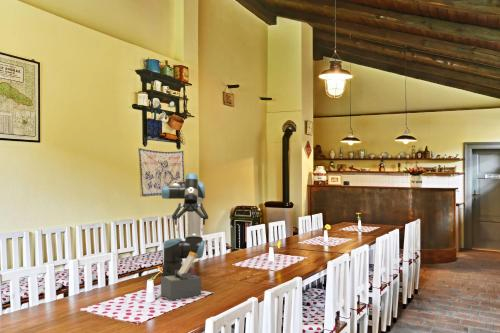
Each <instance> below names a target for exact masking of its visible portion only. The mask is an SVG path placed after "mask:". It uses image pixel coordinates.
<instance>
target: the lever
mask: <svg viewBox="0 0 500 333" xmlns="http://www.w3.org/2000/svg"><path fill="white" fill-rule="evenodd" d="M196 257H197V254H196V253H194V252H191V251H190V252H189V255H188V257H187V258H186V259H185V260H184V262H183V263H182V267H181V268H180V270H179V271H178V272H177V275H179V276H181V277H182V273H187V271H188V270H189V268H190V267H192V265H193V263H194V261H195V258H196ZM196 259H197V258H196Z"/></svg>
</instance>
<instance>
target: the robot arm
mask: <svg viewBox="0 0 500 333" xmlns="http://www.w3.org/2000/svg"><path fill="white" fill-rule="evenodd" d="M161 198H162V199H167V200H171V199H174V200H176V199H177V200H178V199H179V200H181V199H183V201H184V202H183V203H181V202H178V205H177V207H176V209H175V210H174V212H173V214H172V215H171V219H172V220H174V225H175V226H176V231H177V232H178V231H179V224H180V223H179V221H180V220H179V219H180V218H182V216H183V215H185V213H188V214H187V215H188V216H187V236H186V237H185V238H184V240H183V239H182V238H179V237H178V238H171V239H167V240H165V241H164V242H163V264H162V267H161V270H162V269H163V273H161V272H160V277H165V276H172V275H175V270H180V268H181V267H182V265H183V263H182V260H183V259H185V260H186V258H187V257H188V255H189V252H190V251H191V252H194V253H196V254H197V257H196V258H195V259H202V257H203V256H204V252H205V245H206V244H205V243H206V241H205V240H204V238H203V237H202V236H201V231H203V230H204V229H203V228H204V226H205V224H206V220H208V219H209V214H208V213H207V211H206V210H205V207H204V206H203V203H202V202H203V201H204V199H206V190H205V184H204V182H203V181H199V177H198V174H196V173H194V172H193V173H192V172H189V173H187V174H185V179H184V181H178V182H174V183H172V184H170V185H166V186H162V187H161ZM180 210H181V211H180ZM195 259H194V260H195Z"/></svg>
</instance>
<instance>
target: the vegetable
mask: <svg viewBox="0 0 500 333" xmlns="http://www.w3.org/2000/svg"><path fill="white" fill-rule="evenodd" d="M187 273H192V274H194V275H197V276H198V273H197V272H196V270H195V269H194V268H193V267H192V266H190V268H189V270H188V271H187Z"/></svg>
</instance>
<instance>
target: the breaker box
mask: <svg viewBox="0 0 500 333" xmlns="http://www.w3.org/2000/svg"><path fill="white" fill-rule="evenodd" d="M178 271H179V270H175V275H172V276H165V277H164V276H160V296H162V295H163V296H164V297H163V296H162V297H163V298H165V297H166V298H167V300H168V299H169V300H168V301H170V300H173V301H177V300H176V299H179V300H182V299H181V298H185V299H189V298H188V297H191V298H195V297H194V296H197V297H200V296H199V295H201V296H202V276H198V274H197V275H194V274H192V273H182V277H181V276H179V275H177V272H178ZM166 298H165V299H166Z"/></svg>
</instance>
